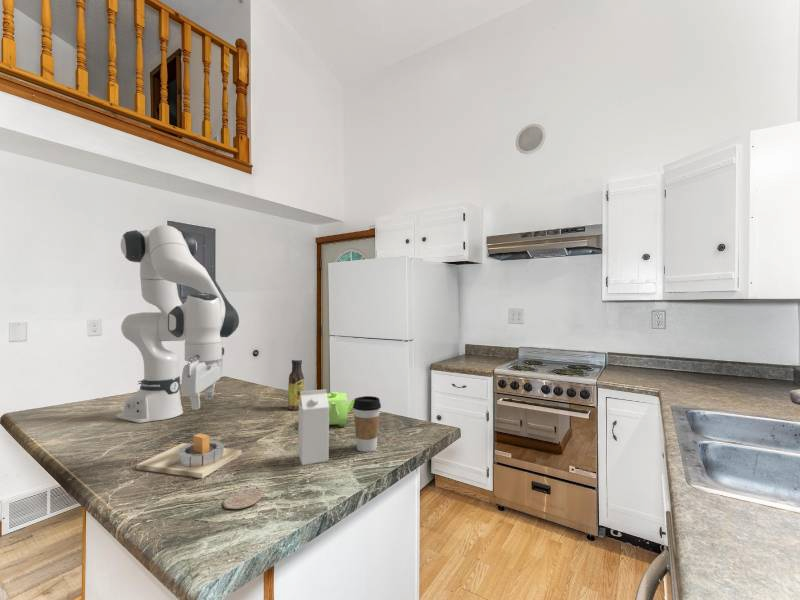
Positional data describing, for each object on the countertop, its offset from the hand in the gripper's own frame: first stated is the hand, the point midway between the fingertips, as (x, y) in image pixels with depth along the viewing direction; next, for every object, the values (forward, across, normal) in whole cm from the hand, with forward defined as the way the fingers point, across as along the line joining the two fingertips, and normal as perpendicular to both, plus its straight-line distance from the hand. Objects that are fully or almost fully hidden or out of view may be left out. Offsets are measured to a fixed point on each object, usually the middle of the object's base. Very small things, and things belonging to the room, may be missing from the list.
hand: (202, 403), depth 102 cm
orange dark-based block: (+14, 0, 0) cm, 15 cm away
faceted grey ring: (+14, -1, 0) cm, 15 cm away
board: (+16, 0, +3) cm, 16 cm away
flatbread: (+16, -22, -16) cm, 32 cm away
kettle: (+16, +27, -34) cm, 47 cm away
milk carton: (+16, -2, -30) cm, 34 cm away
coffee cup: (+16, +4, -45) cm, 48 cm away
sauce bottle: (+17, +49, -19) cm, 55 cm away
